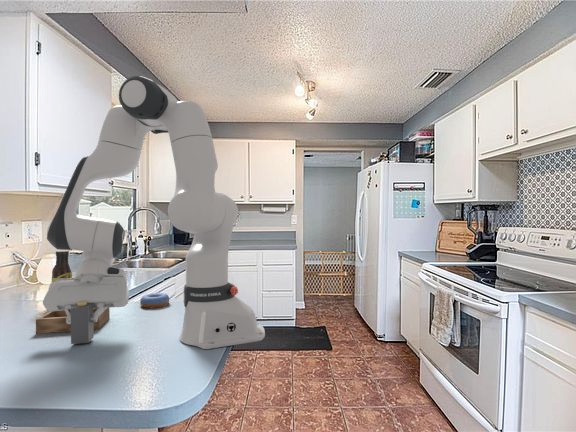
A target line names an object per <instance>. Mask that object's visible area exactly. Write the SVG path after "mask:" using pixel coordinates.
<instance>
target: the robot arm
mask: <svg viewBox="0 0 576 432" xmlns="http://www.w3.org/2000/svg"><path fill="white" fill-rule="evenodd" d="M118 100H119V104H120V105H115V106H113V107H111V108H110V109H109V110H108V112H107V113H106V116H105V119H104V121H103V123H102V126H101V130H100V133H99V138H98V142H97V145H96V148H95V149H94V151H92V153H91V154H89V156H83V157H82V158H81V159H80V160H79V162H78V163H77V164H76V165H77V166H76V167H75V169H74V171H73V173H72V175H71V176H70V177H71V178H70V180H69V183H68V185H67V186H66V190H65V192H64V194H63V197H62V199H61V201H60V203H59V205H58V207H57V211H55V215H54V216H53V218H52V219H51V221H50V223H49V225H48V227H47V231H46V240H47V241H48V242H49V244H50V245H51V246H52V247H54V248H55V249H57V250H58V251H80V252H82V253H81V261H80V263H78V267H77V270H76V273H75V277H72V278H67V279H57V280H56V281H54V282H52V281H51V282H50V284H49V287H48V290H47V291H46V294H45V296H44V297H43V300H42V305H43V307H44V308H45V310H46V311H48V312H49V311H64V310H65V312H66V314H67V319H66V323H67V324H71V314H70V313H71V308H72V307H73V306H75V305H76V304H77V302H79V301H87V304H90V303H93V309H95V308H98V309H97V311H96V312H95V313H93V314H91V315H90V322H91V323H92V322H97V321H98V317H99V316H100V315H101V314H102V313H103V312H104V310H105V308H109V309H111V308H123V307H124V308H125V307H126V306H127V305H128V304H129V302H130V301H129V300H130V290H129V286H128V276H127V273H126V271H125V269H123V268H120V267H116V266H113V264H114V262H115V260H116V258H117V257H118V256H119V255H120V254H121V253H122V250H123V243H124V241H125V240H124V239H125V235H126V233H125V232H126V231H125V229H124V227H123V226H122V225H121V223H120V222H119V221H116V220H111V219H106V218H101V217H100V218H98V217H93V216H86V215H80V214H78V213H77V210H78V207H79V205H80V202H81V201H82V200H81V199H83V195H84V193H85V191H86V188H87V187H88V186H89V185H90V184H92V183H93V182H97V181H101V180H105V179H106V180H107V179H112V178H113V179H114V178H120V177H123V176H124V177H125V176H127V175H129V174H131V173H133V171H135V170H136V168H137V167H138V163H139V161H140V158H141V154H142V149H143V143H144V139H145V137H146V135H147V134H149V132H151V133H152V134H156V135H158V134H166V133H167V134H168V136H169V141H170V146H171V151H172V156H173V163H174V167H175V177H176V178H175V189H174V191H175V192H174V195H173V197H172V198H171V199H170V202H169V203H168V206H167V216H168V219H169V222H170V223H171V224H172V226H173V227H174V228H176V229H177V230H180V231H183V232H185V233H189V234H193V239H192V242H191V246H190V247H189V249H188V251H186V255H185V284H184V286H183V305H184V314H183V316H184V317H183V323H182V328H181V332H180V336H179V340H180V341H181V343H183V344H186V345H190V346H193V347H194V346H195V347H198V348H200V349H202V350H210V349H217V348H222V347H228V346H235V345H236V346H237V345H240V344H242V345H243V344H248V343H253V342H260V341H263V339H264V338H266V337H265V336H266V332H265V328H264V326H263V325H262V324H261V323H259V322H257V317H256V313H255V311H254V310H253V308H252V307H251V306H250V305H248V304H247V303H245V302H244V301H242V300H241V299H240V298H238V297H237V295H238V293H239V290H238V287H237V286H236V285H235V284H233V283H231V282H229V272H228V271H229V270H228V269H229V268H228V267H229V266H228V264H229V251H230V249H229V248H230V245H231V244H230V243H231V238H232V234H233V228H234V225H235V223H236V221H237V220H238V217H239V208H238V205H237V203H236V202H235V200H233V199H232V198H231V197H230V196H228V195H227V194H224V193H221V192H216V190H215V189H216V188H215V178H216V171H217V170H218V166H219V165H218V161H217V160H218V159H217V155H216V154H217V153H216V150H215V146H214V145H215V144H214V141H213V136H212V132H211V128H210V124H209V122H208V119H207V116H206V115H205V112H204V109H203V107H201V106H200V104H199V103H197V102H195V101H192V100H181V101H180V99H179V98H176V97H175V96H174V95H173V94H172V93H171V92H170V91H169V90H168V89H166V88H165V87H163V86H161V85H160V84H158V83H156V82H155V81H153V80H152V79H150V78H147V77H144V76H138V75H134V76H130V77H129V78H128V77H127V79H125V80H124V82H123V83H122V84H121V86H120V87H119V90H118Z"/></svg>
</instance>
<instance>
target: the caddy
mask: <svg viewBox="0 0 576 432" xmlns="http://www.w3.org/2000/svg"><path fill="white" fill-rule="evenodd" d="M97 309H98V308H95V309H93V313H95V312H96V311H97ZM110 309H111V308H105V310H104V312H103V313H102V314H101V315H100V316H99V317H98V321H97V322H94V331H95V330H96V331H97V330H100V329H101V328H102V327H103V326H104V325H105V324H106V323H107V321H109V320H110ZM70 314H71V313H70ZM66 319H67V314H66V312H65V310H64V311H48V312H46V313H44V314H42V315H40V316H39V317H38V318H36V319H35V335H37V334H39V333H42V334H51V333H50V332H56V333H66V332H68V333H71V324H67V323H66ZM39 335H40V334H39Z"/></svg>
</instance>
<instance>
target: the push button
mask: <svg viewBox="0 0 576 432" xmlns="http://www.w3.org/2000/svg"><path fill="white" fill-rule="evenodd" d="M91 314H93V303H90V304H87V301H79V302H77V304H76V305H75V306H73V307H72V308H71V331H70V344H71V345H74V344H87V343H90V342H91V341H92V339H94V337H95V334H94V333H95V332H94V331H95V330H94V322H92V323H91V322H90V315H91Z"/></svg>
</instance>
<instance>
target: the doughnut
mask: <svg viewBox="0 0 576 432" xmlns="http://www.w3.org/2000/svg"><path fill="white" fill-rule="evenodd" d="M139 301H140V305H141V307H142V308H144V309H159V308H161V307H166V306H167V305H168V304H169V303H170V296H169V295H168V294H167V293H164V292H153V293H147V294H144V295H143V296H142V297H141V298H140V300H139Z"/></svg>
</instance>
